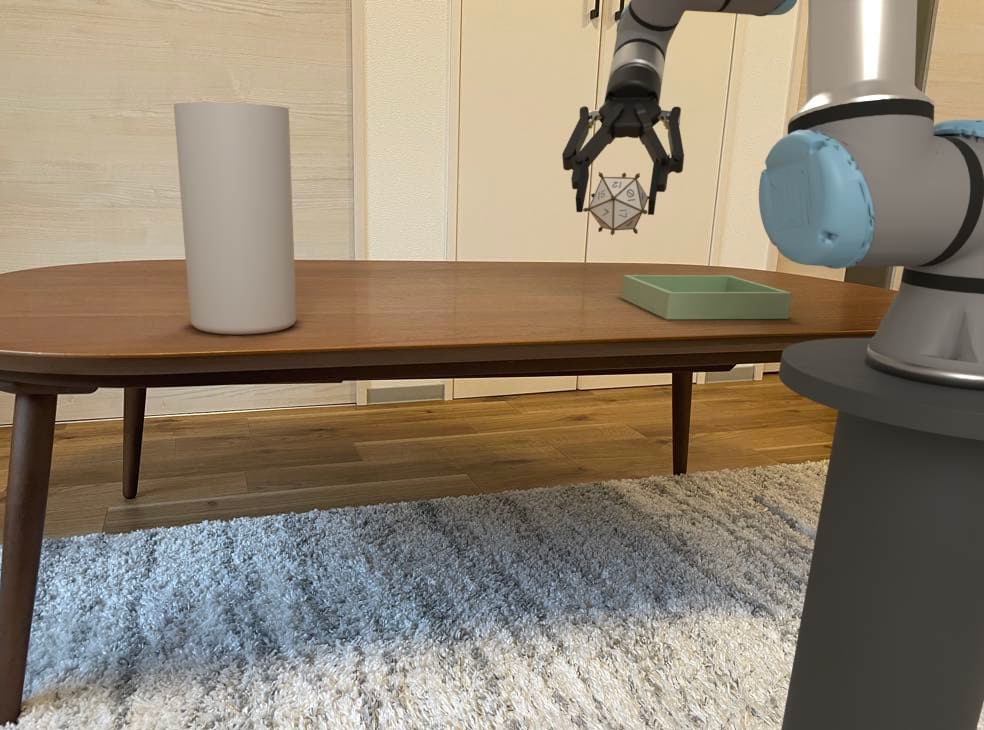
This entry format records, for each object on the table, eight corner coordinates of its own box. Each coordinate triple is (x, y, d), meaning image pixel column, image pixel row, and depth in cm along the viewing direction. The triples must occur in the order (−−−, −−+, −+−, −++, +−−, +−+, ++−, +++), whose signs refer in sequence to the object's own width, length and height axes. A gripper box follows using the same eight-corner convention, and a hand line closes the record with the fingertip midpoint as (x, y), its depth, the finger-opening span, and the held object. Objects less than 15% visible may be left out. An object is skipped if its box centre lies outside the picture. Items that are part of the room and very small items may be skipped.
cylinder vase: (187, 337, 88) (168, 100, 80) (194, 317, 99) (178, 108, 92) (299, 334, 90) (291, 105, 83) (293, 315, 102) (286, 112, 95)
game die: (609, 260, 107) (622, 199, 110) (659, 242, 100) (671, 178, 104) (565, 228, 103) (579, 166, 106) (614, 208, 96) (627, 141, 99)
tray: (788, 319, 107) (792, 292, 106) (666, 319, 104) (669, 292, 103) (727, 298, 123) (730, 275, 122) (621, 298, 121) (623, 275, 120)
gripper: (710, 106, 110) (698, 229, 100) (561, 106, 116) (535, 222, 106) (716, 61, 104) (703, 187, 94) (558, 64, 110) (530, 183, 100)
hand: (614, 206), depth 100 cm, fingers closed on game die, 8 cm apart
